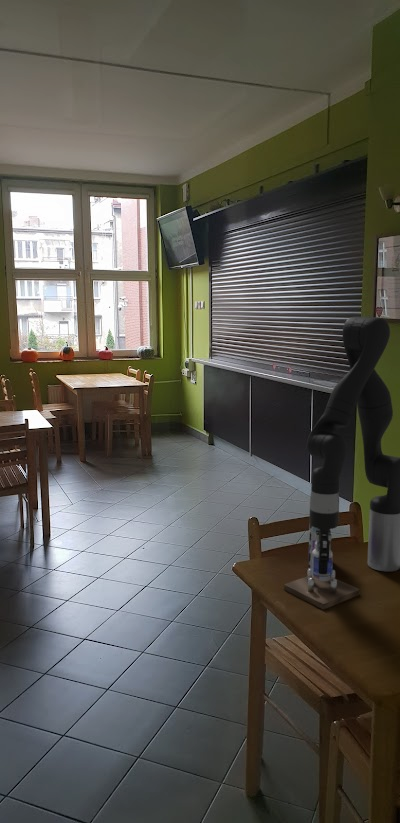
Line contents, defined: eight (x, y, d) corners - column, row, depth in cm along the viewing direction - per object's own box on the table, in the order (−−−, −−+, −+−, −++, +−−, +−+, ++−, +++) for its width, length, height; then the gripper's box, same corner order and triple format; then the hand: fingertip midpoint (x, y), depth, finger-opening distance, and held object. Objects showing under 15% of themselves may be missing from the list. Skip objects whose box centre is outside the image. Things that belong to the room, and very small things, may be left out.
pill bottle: (335, 581, 158) (336, 545, 156) (316, 583, 156) (317, 547, 155) (326, 572, 163) (328, 538, 161) (308, 574, 162) (309, 540, 160)
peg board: (319, 576, 170) (319, 571, 170) (359, 594, 159) (359, 589, 159) (283, 589, 162) (284, 584, 162) (323, 609, 151) (323, 604, 150)
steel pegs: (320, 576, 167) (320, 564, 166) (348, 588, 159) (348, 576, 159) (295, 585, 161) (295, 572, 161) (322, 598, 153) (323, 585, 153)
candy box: (328, 577, 170) (330, 521, 167) (307, 575, 171) (309, 520, 168) (328, 558, 183) (330, 506, 180) (308, 557, 184) (310, 505, 182)
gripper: (341, 517, 149) (338, 581, 152) (336, 500, 163) (334, 559, 166) (310, 515, 150) (308, 579, 153) (308, 499, 164) (307, 557, 167)
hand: (322, 568), depth 159 cm, fingers closed on pill bottle, 5 cm apart
